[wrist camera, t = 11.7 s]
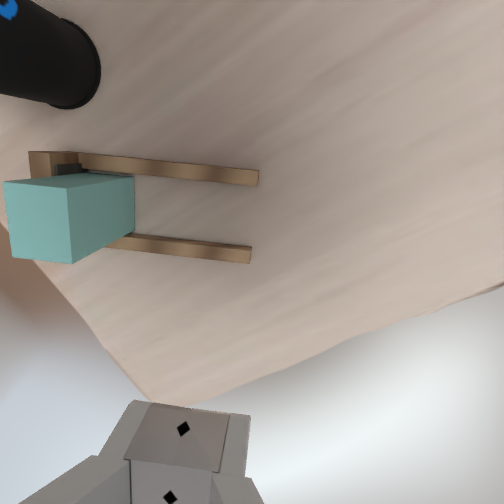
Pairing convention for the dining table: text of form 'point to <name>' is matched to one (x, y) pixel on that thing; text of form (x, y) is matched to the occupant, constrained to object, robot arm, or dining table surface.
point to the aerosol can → (45, 57)
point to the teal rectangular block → (68, 214)
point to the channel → (80, 162)
